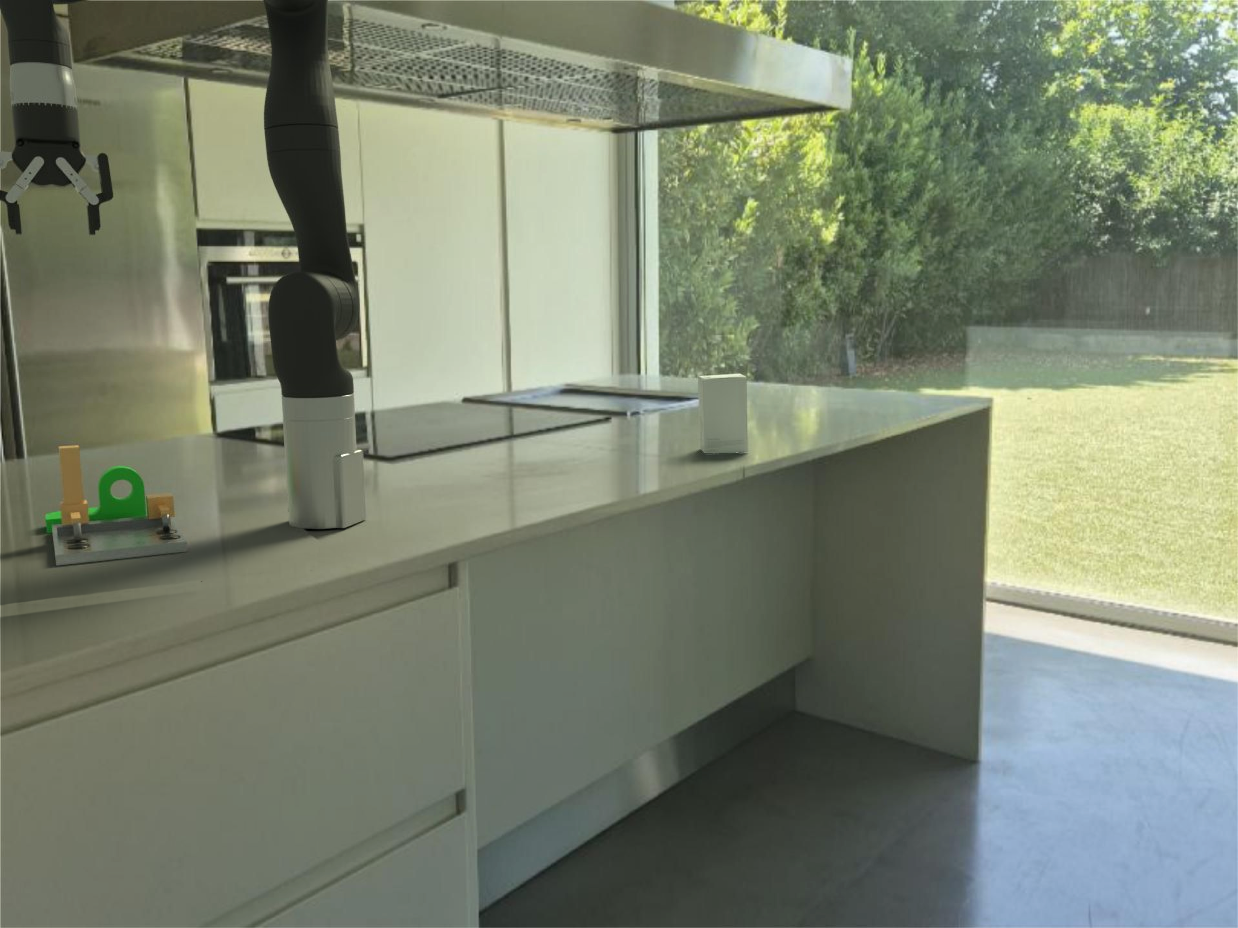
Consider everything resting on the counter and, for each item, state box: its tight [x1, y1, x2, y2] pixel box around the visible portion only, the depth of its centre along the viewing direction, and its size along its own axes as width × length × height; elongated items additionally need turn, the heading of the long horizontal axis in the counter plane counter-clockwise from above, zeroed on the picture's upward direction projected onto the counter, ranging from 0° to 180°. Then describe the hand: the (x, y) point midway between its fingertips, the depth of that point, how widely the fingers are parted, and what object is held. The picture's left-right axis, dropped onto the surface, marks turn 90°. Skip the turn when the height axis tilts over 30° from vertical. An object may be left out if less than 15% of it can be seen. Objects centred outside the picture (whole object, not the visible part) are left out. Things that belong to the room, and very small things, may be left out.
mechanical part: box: [44, 465, 147, 534], centre depth 150 cm, size 12×6×8 cm, turn 118°
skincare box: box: [697, 373, 749, 455], centre depth 205 cm, size 8×6×15 cm
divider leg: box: [58, 444, 89, 540], centre depth 137 cm, size 3×8×10 cm, turn 28°
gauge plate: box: [51, 492, 188, 567], centre depth 139 cm, size 14×20×5 cm
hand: (55, 234), depth 146 cm, fingers open, 8 cm apart
